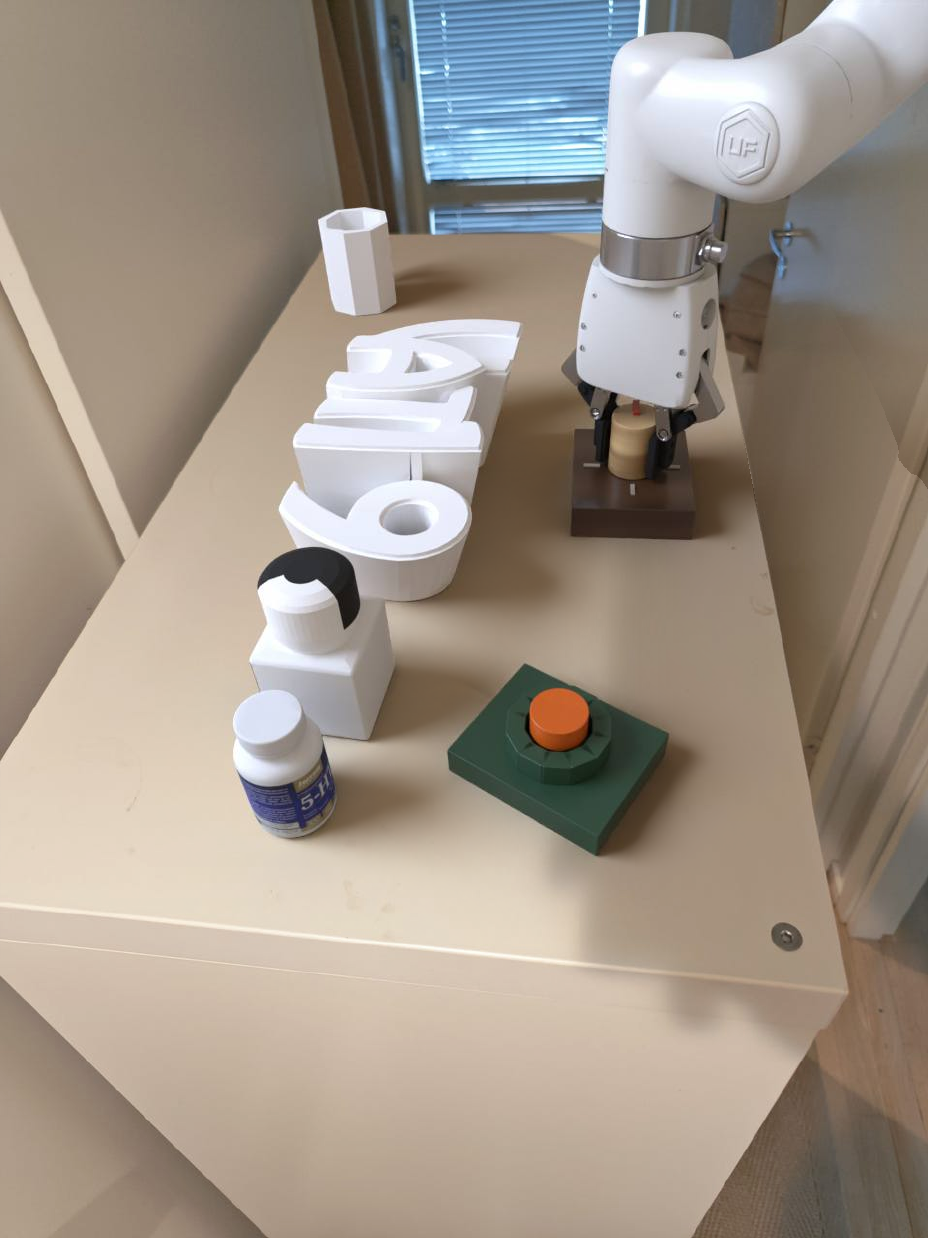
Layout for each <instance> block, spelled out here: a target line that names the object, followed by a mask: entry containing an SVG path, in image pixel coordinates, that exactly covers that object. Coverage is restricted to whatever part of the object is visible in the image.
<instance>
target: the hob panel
mask: <svg viewBox="0 0 928 1238" xmlns="http://www.w3.org/2000/svg"><path fill="white" fill-rule="evenodd" d="M572 451H573V452H572V480H571V505H570V508H571V510H570V534H569V535H570V537H593V538H594V537H595V538H597V537H598V538H628V539H630V538H631V539H662V540H692V537H693V532H694V526H695V520H696V515H697V508H696V499H695V494H694V493H695V491H694V484H693V477H692V469H691V463H690V454H689V446H688V440H687V431H686V429H685V430H683V431H681V432H680V433H678V434H677V441H676V448H675V455H674V460H673V462H672V464H671V466H670V467H669V468H668V469H663V470H662V471H661V473H660V474H659V475H658V476H657V477H656V478H655V479H654V480H650V479H647V477H646V478H643V479H637V480H628V479H623V478H620V477H617V476H615V475H614V474H613V473H611V471H610V470H609V468H608V460H609V458H608V459H607V460H606V461H605V462H602V463H601V462H598V461H596V460H595V455H596V446H595V445H594V428H574V431H573V450H572Z"/></svg>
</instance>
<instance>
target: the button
mask: <svg viewBox="0 0 928 1238" xmlns="http://www.w3.org/2000/svg"><path fill="white" fill-rule="evenodd" d="M588 720H589V708H588V705H587V703H586V701H585V700H584V699H583V698H582V697H581V696H580V695H579V694H577V693H576V692H574V691H571V690H568V689H562V688H554V689H549V690H546V691H543V692H542V693H540V694H539V695H537V696H536V697H535V698H534V700H533V701H532V703H531V706H530V733H531V735H532V737H533V739H534V740H535V741H536V742H537V743H538V744H539V745H541V746H542V747H544V748H546V749H549V750H553V751H566V750H570V749H573V748H575V747H577V746H578V745H580V744H581V743H582V742H583V741H584V739H585V738H586V736H587V732H588Z"/></svg>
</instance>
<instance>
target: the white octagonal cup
mask: <svg viewBox="0 0 928 1238" xmlns="http://www.w3.org/2000/svg"><path fill="white" fill-rule="evenodd" d="M317 222H318V229H319V234H320V239H321V240H320V241H321V247H322V252H323V257H324V258H323V259H324V263H325V264H324V265H325V270H326V276H327V281H328V288H329V293H330V299H331V303H332V306H333V308H334V310H335V312H337V313H341V314H344V315H345V314H346V315H350V316H354V317H359V316H369V315H379V314H382V313H384V312H385V311H387V310H389V309H390V308H392V307H393V306H395V305H397V293H396V286H395V284H396V283H395V275H394V267H393V259H392V251H391V241H390V231H389V224H388V218H387V213H386V211H385V210H380V209H377V208H376V209H375V208H371V207H354V208H345V209H344V208H343V209H336V210H334V211H332V212H331V213H328V214H326V215H324V216H322V217H321V218H319V219H317Z"/></svg>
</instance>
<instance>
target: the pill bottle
mask: <svg viewBox="0 0 928 1238" xmlns="http://www.w3.org/2000/svg"><path fill="white" fill-rule="evenodd" d="M232 728H233V730H234V733H235V737H236V738H235V741H234V744H233V748H232V758H233V764H234V767H235V769H236V772H237V775H238V777H239V780H240V782H241V784H242V787H243V790H244V792H245V795H246V797H247V800H248V802H249V805H250V807H251V810H252V812H253V814H254V817H255V819H256V821H257V823H258V824H259V826H261V828H262V829H263V830H264V831H266V832H267V833H269V834H271V835H273V836H275V837H280V838H285V839H287V838H288V839H290V838H292V839H293V838H294V839H295V838H300V837H303V836H306V835H309V834H311V833H313V832H315V831H316V830H318V829H320V828H321V827H322V826H323V825H324V824H325V823H326V822H327V821H328V820H329V819H330V817H331V816H332V814H333V812H334V810H335V808H336V805H337V801H338V800H337V798H338V793H337V788H336V785H335V779H334V775H333V772H332V769H331V765H330V761H329V757H328V753H327V749H326V747H325V742H324V738H323V735H322V734H321V732H320V730H319V728H318V726H317V725H316V723H315V722H314V721H313V720H312V719H311V718H309V717H308V716H306V715H305V713H304V710H303V707H302V705H301V702H300V701H299V700H298V698H297V697H296V696H294V695H293V694H291V693H289V692H287V691H283V690H266V691H262V692H260V691H259V692H256V693H254V694H252V695H250V696H249V697H247V698H246V699H245V700H243V701H242V702H241V704H239V706H238V707H237V709H236V710H235V712H234V715H233V719H232Z"/></svg>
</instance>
